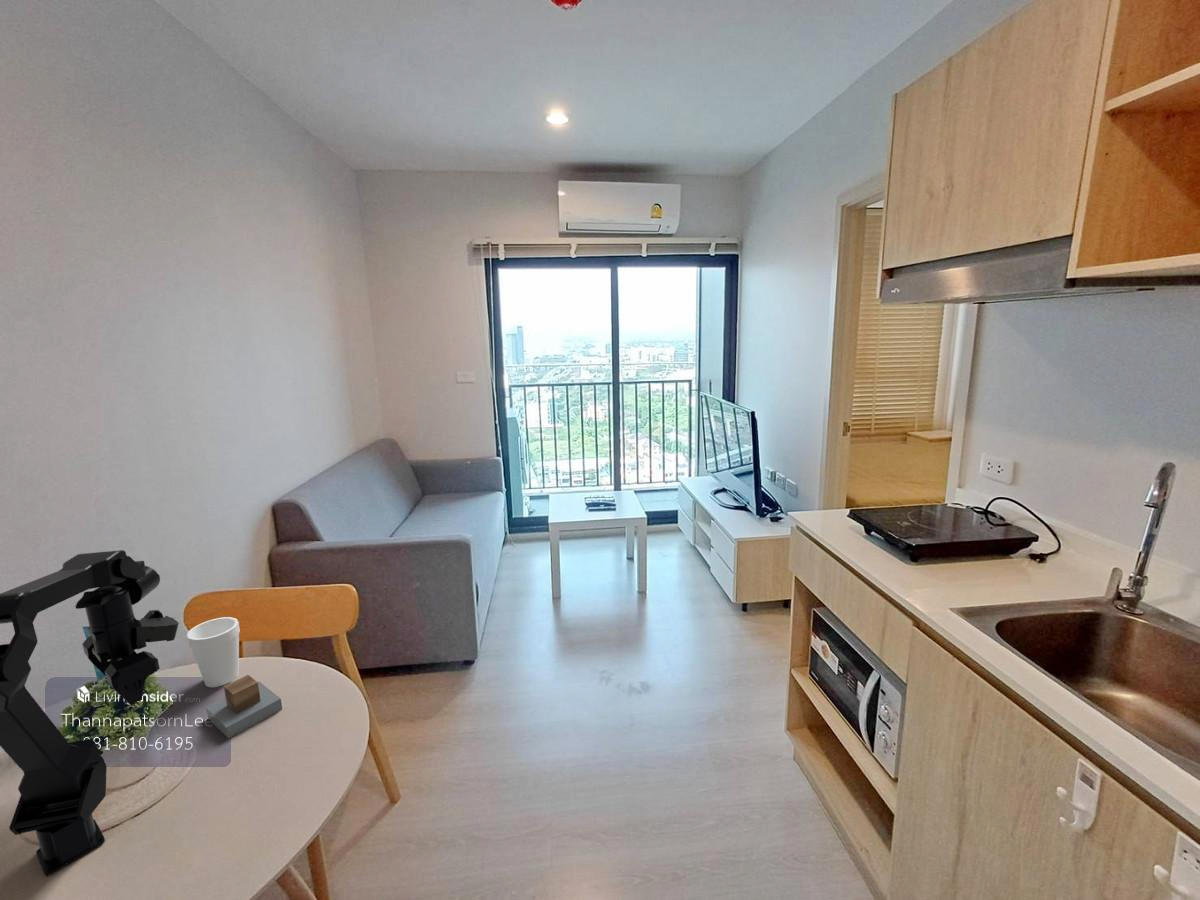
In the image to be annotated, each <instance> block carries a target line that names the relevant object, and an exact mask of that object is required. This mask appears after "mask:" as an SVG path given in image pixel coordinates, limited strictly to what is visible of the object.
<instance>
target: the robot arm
mask: <svg viewBox="0 0 1200 900" xmlns="http://www.w3.org/2000/svg"><path fill="white" fill-rule="evenodd" d="M145 564H146V563H145V561H144V560H137V561H136V560H134V559H133V558H132V557H131V556H129V555H127V552H126V551H125V550H123V549H120V550H119V549H118V550H109V551H98V552H88V553H86V552H85V553H79V554H76V555H74V556H72V557H71V558H70V559H68V560H65V562H63V564H62V568H61V569H59V570H58V571H55V572H53V573H50V574H47V575H45V576H42V577H40V578H37V579H35V580H32V581H29V582H27V583H24V584H21V585H19V586H15V587H14V588H11V589H9V590H6V591H4V592H1V593H0V624H3V625H4V624H11V623H12V626H13V630H14V634H13V636H12V638H11V641H10V642H9V643H5V644H4V643H3V644H0V748H1V749H2V750H3V751H4V752H5V753H6V754H7V755H8V756H9V757H10V758H11V760H12V761H13V762H14V763H15V764H16V765H17V766H18V768H19V769H21V771H22V772H23V775H22V778H21V780H20V783H19V785H18V788H17V790H18V792H19V794H20V796H19V800H18V802H17V805H16V807H15V810H14V813H13V816H12V819H11V822H10V825H9V830H10V831H11V833H13V834H14V835H15V836H17V835H21V834H24V833H29V832H34V831H35V835H36V837H37V840H38V844H39V847H40V848H38V849H37V850H36V851H35V854H36V857H37V858H38V861H39V864H40V866H41V868H42V871H43V874H44V876H45V877H47V876H50V875H52V874H53V873H55V872H57V871H59V870H60V869H62V868H64V867H65V866H68V865H70V864H71V863H72V862H74V861H76V860H77V859H79V858H81V857H82V856H84V855H86V854H88V853H89V852H90V851H92V850H94V849H96V848H97V847H100V846H101V845H102V844H104V843H105V842H106V839H105V838H106V837H105V836H104V834H103V832H102V830H101V828H100V827H99V825H98V823H97V821H96V820H95V818H94V816H93V813H94V812H95V810H96V809H97V807H98V806H99V805H100V804H101V803H102V801H103V800H104V799H105V798H106V795H107V793H106V792H107V768H108V767H107V763H106V762H105V759H104V758H103V756H102V755H103V754H104V751H103V750H100V748H98V745H97V744H96V741H94V740H93V739H91V738H87V739H79V740H74V741H69V742H68V740H67V739H66V738H65V736H64V735H63V734H62V733H61V731H60V730H59V729H58V728H57V726H56V725H55V724H54V723H53V722H52V720H51V719H50V718H49V716H48V715H47V714H46V713H45V711H44V709H42V707H41V706H40V704H38V702H37V701H36V699H35V698H34V697H33V696H32V695H31V693H30V692H29V691H28V689H27V688H26V683H27V682H28V681H27V680H28V677H29V676H30V673H31V671H32V666H31V665H30V663H29V661H30V659H31V656H32V654H33V653H34V651H35V648H36V646H37V644H38V636H37V634H36V629H35V626H34V621H35V620H36V617H37V616H38V614H39V613H40V612H43V611H44V610H47V609H49V608H52V607H53V606H55V605H57V604H61V602H63V601H66V600H68V599H70V598H73V597H75V596H77V595H79V594H81V593H83V595H82V596H81V598H80V599H79V600H78V601H77V602H76V604H75V606H74V607H75V609H76V610H78V609H79V610H81V609H85V612H86V617H87V620H88V626H90V627H87V629H88V633H89V634H90V635H91V636H90V637H88V638H87V639H86V638H85V640H84V641H83V642H82V648H83V653H84V654H85V656H86V657H87V659H88V660H89V661H90V662H91V664H94V665H95V666H96V667H97V668H98V669H99V670H100V671H101V672H102V673H103V674H104V675H105V676H106V678H107V680H108V683H109V685H110V686H111V687H112V688H113V689H114V690H115V691H116V692H117V693H118V694H119V695H120V696H122V697H123V698H124V699H125V700H126V701H127V702H128V703H129V704H130V705H132V704H134V703H135V702H137V701H140V700H142V696H143V692H144V689H145V686H146V685H145V684H146V681H147V678H149V677H150V676H151V675H153V674H154V673H156V672H158V671H159V670H160V664H159V659H158V658H157V657H156V656H155V655H154V654H153V653H152V652H150V651H149V652H148V651H145V650H142V651H140V652H136V651H135V650H141V649H143V648H146V647H147V643H155V642H162V641H163V642H164V641H166V642H172V641H175V639H176V635H177V631H178V628H179V622H178V621H177V619H175V618H174V617H171V616H168V615H165V616H164V615H163V613H162V611H160V609H150V610H149V611H148V612H147V613H145V615H144V616H143V617H141V619H137V618H136V617H135V613H134V610H133V606H134V605H136V604H138V603H139V602H140V601H141V600H143V599H144V598H145V597H146V596H148V595H149V594H150V593H152V591H154V590H155V589H156V588H158V586H159V584H160V582H161V576H160V574H159V573H158V572H157V571H156V570H155V569H154V568H152V567H150V566H147V565H145ZM92 589H93V590H92ZM87 590H90V591H87ZM92 651H93V652H92ZM94 665H93V666H94Z"/></svg>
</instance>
